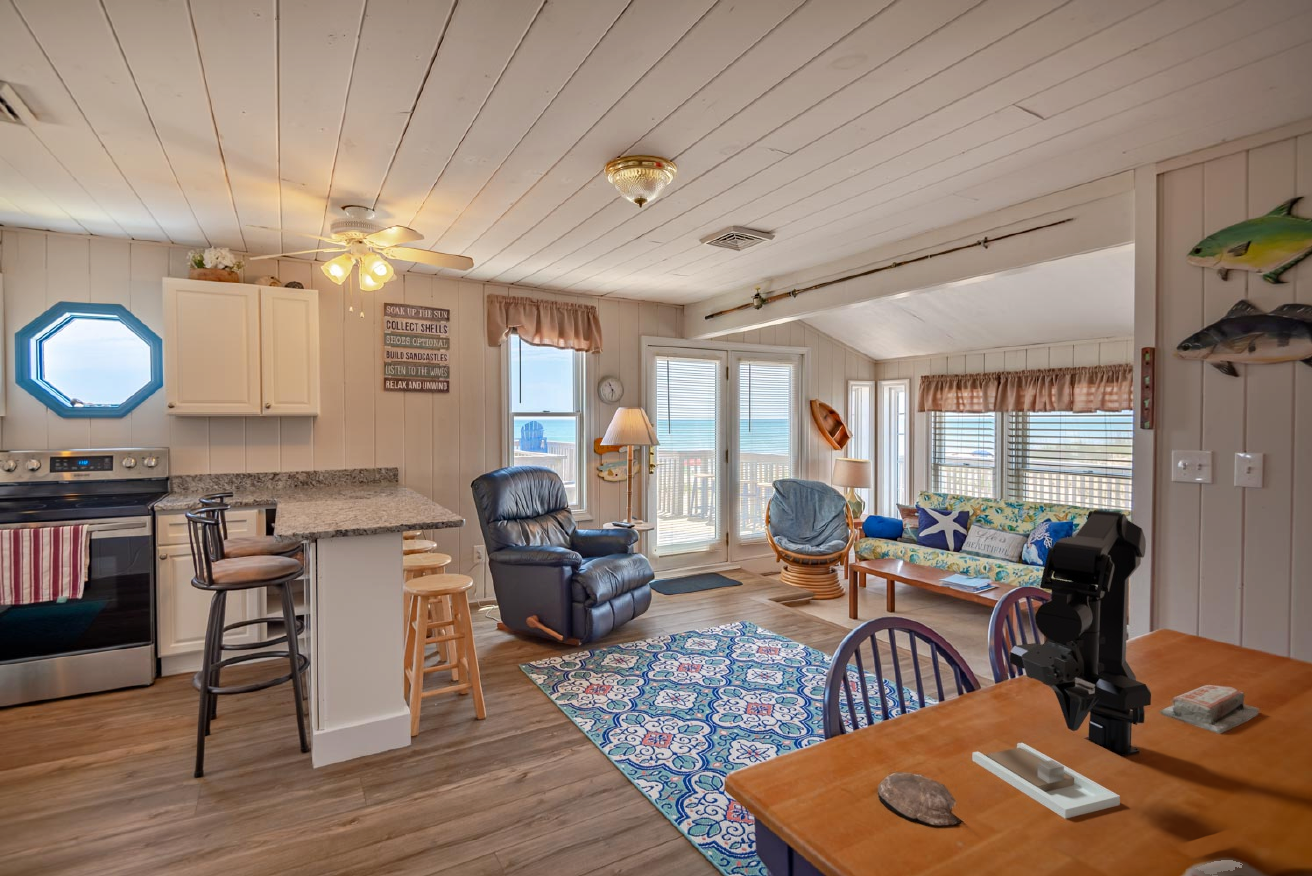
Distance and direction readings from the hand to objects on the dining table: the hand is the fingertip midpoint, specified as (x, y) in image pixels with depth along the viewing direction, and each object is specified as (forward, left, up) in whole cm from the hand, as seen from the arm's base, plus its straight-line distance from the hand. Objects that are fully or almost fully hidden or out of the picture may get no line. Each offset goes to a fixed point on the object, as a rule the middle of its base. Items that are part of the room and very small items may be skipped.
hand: (1072, 729), depth 99 cm
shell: (+21, -8, -13) cm, 26 cm away
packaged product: (-57, -15, -13) cm, 61 cm away
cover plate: (0, -7, -10) cm, 13 cm away
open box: (0, -5, -12) cm, 13 cm away
